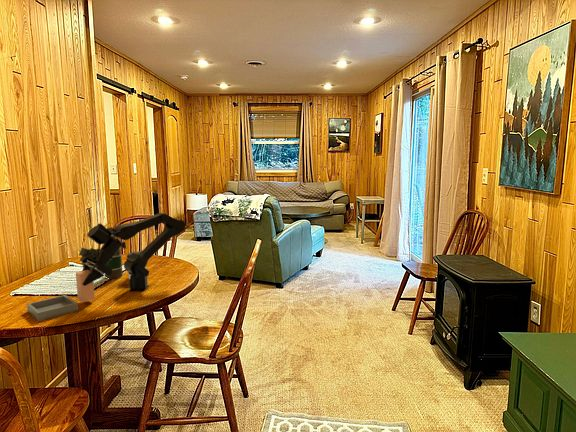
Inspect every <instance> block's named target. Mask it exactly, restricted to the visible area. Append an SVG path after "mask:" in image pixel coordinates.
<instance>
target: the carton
mask: <svg viewBox="0 0 576 432" xmlns="http://www.w3.org/2000/svg"><path fill="white" fill-rule="evenodd" d="M89 273H90V271H89V270H85V271H82V270H81V271H77V272H76V271H75V279H76V291H77V300H79V301H80V302H81V303H84V302H89V301H92V300H95V298H96V297H95V296H96V295H95V286H94V281H93V282H91V283H89V284H88V285H86V286H84V285H83V283H84V281H85V279H86V278H87V276H88V275H89Z"/></svg>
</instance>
